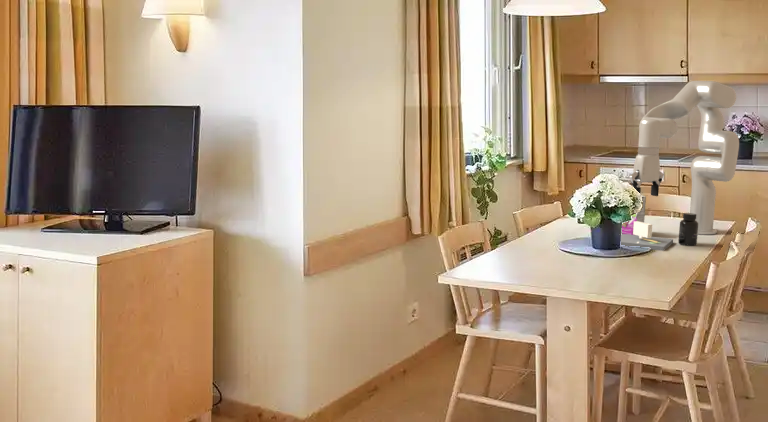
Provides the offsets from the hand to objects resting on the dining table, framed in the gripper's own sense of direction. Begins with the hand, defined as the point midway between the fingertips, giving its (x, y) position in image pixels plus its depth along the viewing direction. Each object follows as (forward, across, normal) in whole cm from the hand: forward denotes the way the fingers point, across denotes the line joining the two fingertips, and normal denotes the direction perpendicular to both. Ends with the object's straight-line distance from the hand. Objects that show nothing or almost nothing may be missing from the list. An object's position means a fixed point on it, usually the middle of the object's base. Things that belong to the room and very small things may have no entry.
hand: (645, 196), depth 341 cm
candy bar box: (+19, -10, -16) cm, 27 cm away
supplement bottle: (+19, -15, +9) cm, 26 cm away
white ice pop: (+16, +1, +2) cm, 17 cm away
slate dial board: (+18, 0, 0) cm, 18 cm away
